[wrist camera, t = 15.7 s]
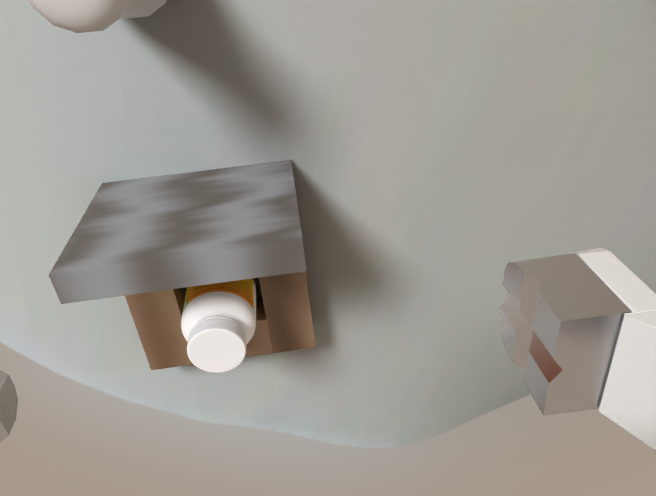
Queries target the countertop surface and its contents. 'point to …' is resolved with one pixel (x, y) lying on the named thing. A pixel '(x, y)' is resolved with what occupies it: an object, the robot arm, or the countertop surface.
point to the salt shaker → (93, 12)
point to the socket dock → (193, 253)
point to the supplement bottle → (219, 323)
